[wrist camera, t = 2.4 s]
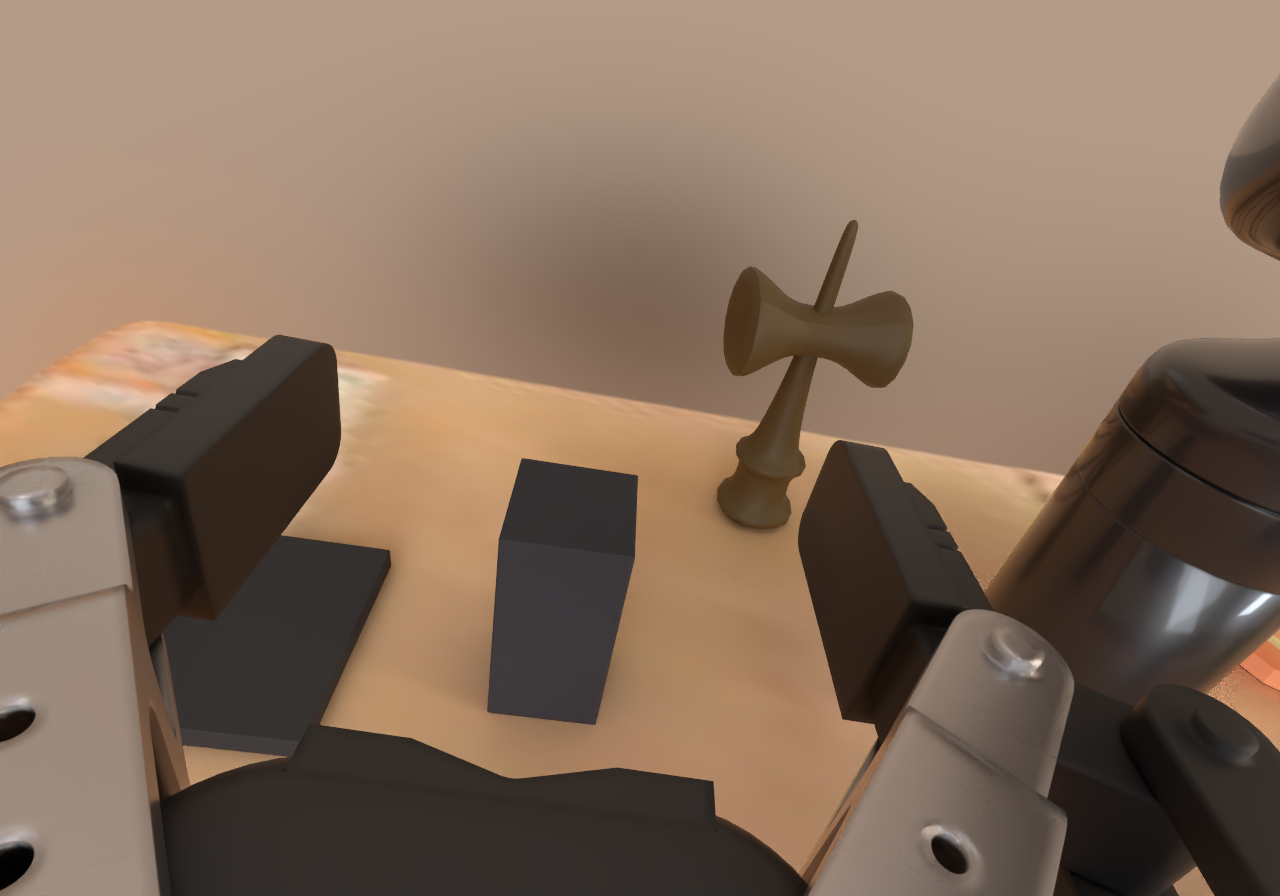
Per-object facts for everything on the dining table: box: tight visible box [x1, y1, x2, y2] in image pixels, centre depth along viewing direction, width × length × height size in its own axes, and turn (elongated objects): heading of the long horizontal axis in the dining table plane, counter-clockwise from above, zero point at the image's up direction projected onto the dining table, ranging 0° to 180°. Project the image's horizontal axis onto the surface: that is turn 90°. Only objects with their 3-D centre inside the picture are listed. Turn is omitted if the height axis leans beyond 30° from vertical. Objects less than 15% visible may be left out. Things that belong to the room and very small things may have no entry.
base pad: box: [163, 535, 391, 757], centre depth 30 cm, size 18×11×4 cm, turn 89°
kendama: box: [717, 220, 913, 529], centre depth 40 cm, size 6×10×20 cm, turn 94°
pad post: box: [487, 458, 638, 725], centre depth 29 cm, size 5×5×11 cm
